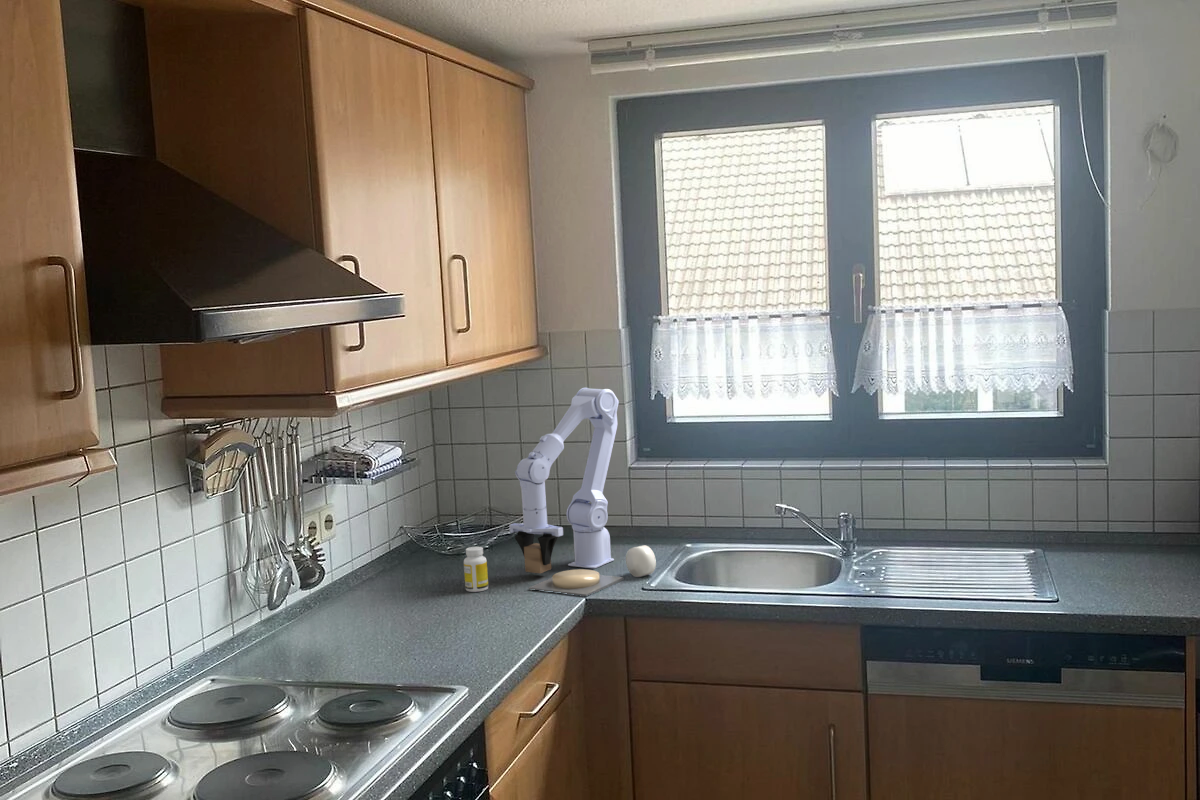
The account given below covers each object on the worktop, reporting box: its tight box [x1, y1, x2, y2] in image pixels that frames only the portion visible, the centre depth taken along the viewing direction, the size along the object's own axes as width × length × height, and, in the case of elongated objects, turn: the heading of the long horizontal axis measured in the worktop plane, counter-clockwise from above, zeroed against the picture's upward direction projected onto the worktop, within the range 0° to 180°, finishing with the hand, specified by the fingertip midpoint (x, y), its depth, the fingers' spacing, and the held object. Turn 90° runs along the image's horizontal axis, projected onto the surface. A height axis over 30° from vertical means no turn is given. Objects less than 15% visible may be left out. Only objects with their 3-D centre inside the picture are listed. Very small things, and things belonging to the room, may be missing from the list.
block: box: [523, 542, 552, 574], centre depth 284 cm, size 4×4×6 cm
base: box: [527, 568, 624, 597], centre depth 275 cm, size 16×16×2 cm
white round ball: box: [625, 544, 657, 578], centre depth 280 cm, size 7×7×4 cm
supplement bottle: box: [463, 546, 489, 593], centre depth 275 cm, size 5×5×10 cm
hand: (538, 563), depth 284 cm, fingers closed on block, 4 cm apart
